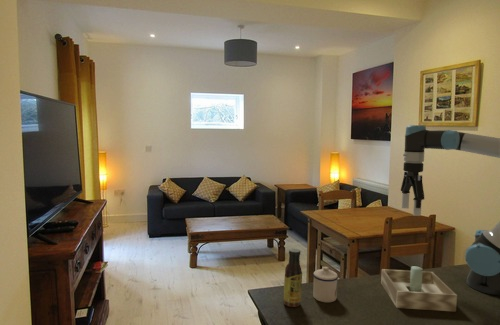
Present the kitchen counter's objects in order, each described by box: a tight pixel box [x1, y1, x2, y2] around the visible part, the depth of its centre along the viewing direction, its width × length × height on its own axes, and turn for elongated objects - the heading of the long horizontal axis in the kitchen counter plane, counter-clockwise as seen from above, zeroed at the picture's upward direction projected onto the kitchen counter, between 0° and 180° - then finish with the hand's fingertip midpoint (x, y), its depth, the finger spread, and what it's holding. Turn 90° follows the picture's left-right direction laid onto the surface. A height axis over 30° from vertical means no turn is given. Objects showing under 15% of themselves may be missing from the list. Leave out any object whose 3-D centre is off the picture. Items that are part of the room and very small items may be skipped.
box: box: [380, 268, 458, 312], centre depth 130 cm, size 20×20×6 cm
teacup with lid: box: [312, 266, 339, 304], centre depth 130 cm, size 12×9×12 cm
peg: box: [410, 265, 423, 292], centre depth 130 cm, size 4×4×11 cm
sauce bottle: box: [283, 248, 303, 308], centre depth 123 cm, size 6×6×20 cm
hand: (410, 211), depth 146 cm, fingers open, 13 cm apart
